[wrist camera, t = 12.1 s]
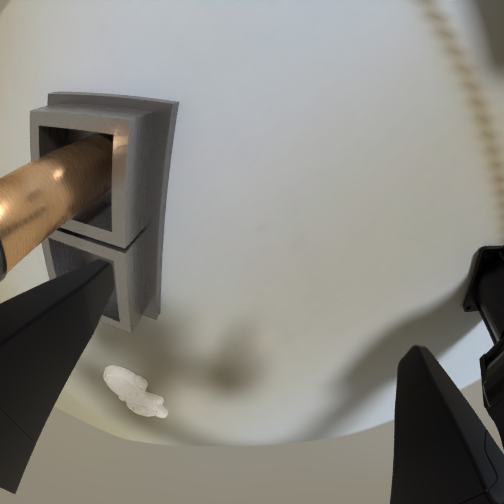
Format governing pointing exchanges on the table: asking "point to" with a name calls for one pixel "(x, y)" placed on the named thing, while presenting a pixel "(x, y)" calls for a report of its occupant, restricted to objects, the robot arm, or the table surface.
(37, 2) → the table surface
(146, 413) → the astronaut figurine
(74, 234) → the grey two-compartment tray
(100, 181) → the copper tube
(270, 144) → the table surface
